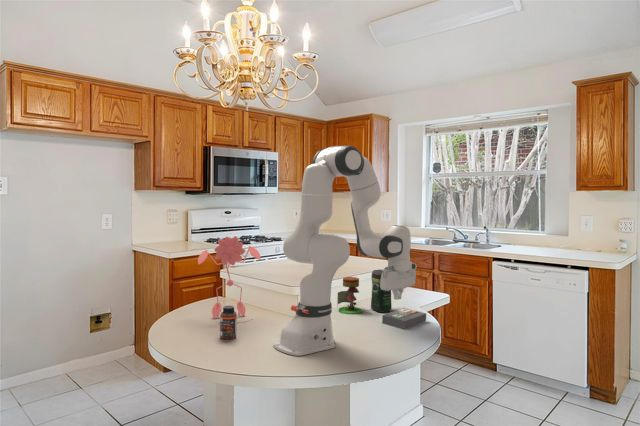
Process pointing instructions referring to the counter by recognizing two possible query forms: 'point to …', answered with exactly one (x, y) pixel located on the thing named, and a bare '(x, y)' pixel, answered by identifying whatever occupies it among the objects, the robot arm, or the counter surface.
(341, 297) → the red green toy sculpture
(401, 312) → the key mid
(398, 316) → the key left
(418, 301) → the counter surface
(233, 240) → the figurine
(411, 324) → the keypad
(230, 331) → the supplement bottle
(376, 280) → the coffee jar
